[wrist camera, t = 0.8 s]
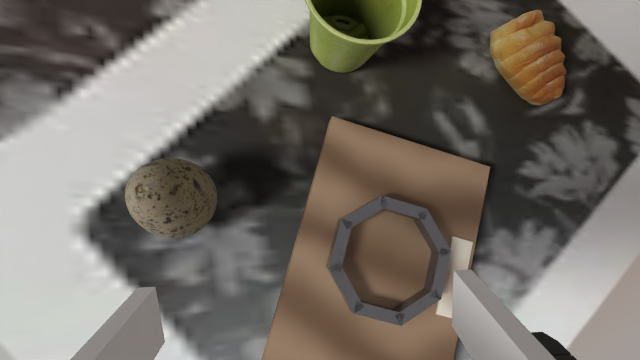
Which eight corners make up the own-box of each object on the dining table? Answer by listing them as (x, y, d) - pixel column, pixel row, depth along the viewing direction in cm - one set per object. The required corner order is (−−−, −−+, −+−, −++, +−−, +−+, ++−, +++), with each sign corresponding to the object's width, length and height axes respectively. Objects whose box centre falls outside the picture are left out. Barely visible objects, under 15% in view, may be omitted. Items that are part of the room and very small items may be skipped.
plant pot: (388, 9, 36) (425, -59, 27) (383, 95, 34) (420, 51, 26) (298, -6, 34) (308, -83, 26) (289, 82, 33) (295, 31, 24)
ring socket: (346, 187, 31) (350, 185, 29) (449, 218, 32) (458, 217, 30) (316, 300, 29) (318, 304, 28) (426, 329, 30) (434, 335, 29)
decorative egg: (201, 248, 30) (167, 258, 20) (138, 216, 29) (72, 210, 20) (235, 188, 31) (219, 169, 21) (175, 157, 31) (130, 123, 21)
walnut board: (329, 121, 33) (332, 115, 31) (480, 169, 35) (491, 166, 33) (261, 359, 29) (261, 367, 28) (435, 401, 31) (444, 411, 29)
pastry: (565, 93, 38) (598, 79, 34) (517, 117, 36) (544, 104, 33) (525, 19, 38) (552, -4, 34) (475, 40, 37) (498, 18, 33)
